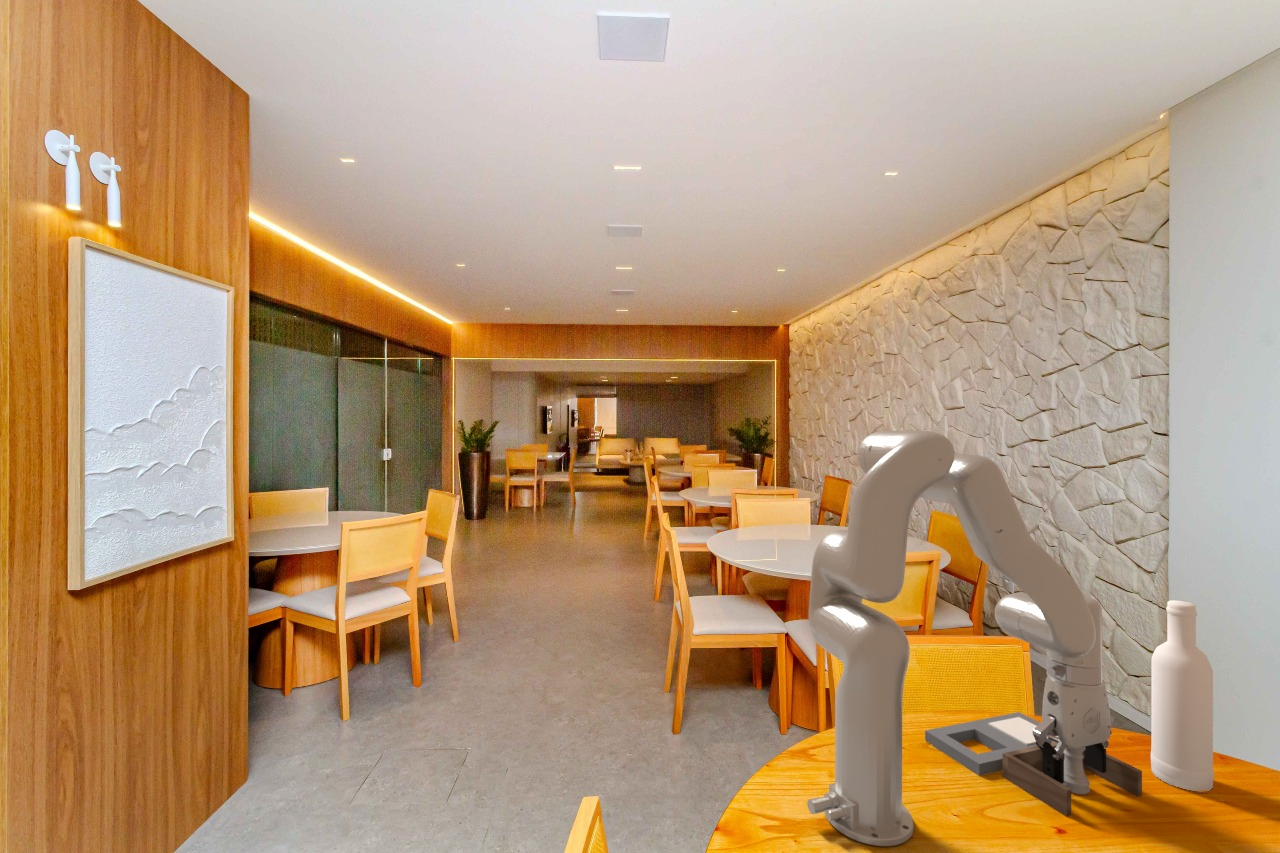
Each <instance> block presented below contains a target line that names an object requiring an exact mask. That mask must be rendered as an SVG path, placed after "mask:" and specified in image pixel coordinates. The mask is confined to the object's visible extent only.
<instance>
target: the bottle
mask: <svg viewBox="0 0 1280 853" xmlns="http://www.w3.org/2000/svg"><path fill="white" fill-rule="evenodd" d="M1165 611H1166V612H1167V613H1166V617H1167V618H1166V619H1167V620H1166V621H1167V622H1166V624H1167V626H1166V628H1167V629H1166V630H1167V631H1166V635H1167V636H1166V638H1167V639H1166V641H1165V642H1162V643H1161V644H1159V645H1158V646H1156V648H1155V650H1154V651H1153V653H1152V656H1151V664H1150V665H1151V668H1150V669H1151V670H1150V672H1151V674H1150V675H1151V687H1150V688H1151V690H1150V691H1151V697H1150V698H1151V700H1150V701H1151V702H1150V703H1151V705H1150V706H1151V718H1150V721H1151V724H1150V725H1151V727H1150V728H1151V731H1150V732H1151V733H1150V734H1151V739H1150V740H1151V748H1150V749H1151V751H1150V763H1151V764H1150V766H1151V768H1150V770H1151V772H1152V774H1153V775H1154V776H1155V777H1156V778H1157V777H1158V778H1157V779H1159V780H1160V779H1161V780H1160V781H1162V782H1163V781H1164V783H1165V782H1166V784H1167V785H1170V786H1172V785H1173V786H1172V787H1174V786H1176V787H1175V788H1177V787H1180V788H1183V789H1187V790H1186V791H1188V790H1192V791H1207V790H1211V789H1212V788H1213V789H1214V780H1215V776H1214V775H1215V773H1214V757H1213V756H1214V670H1213V668H1212V665H1211V663H1210V661H1209V659H1208V656H1207V655H1206V654H1205V653H1204V652H1203V651H1202V650H1201V649H1200V648H1199V647H1198V646H1197V645H1196V644H1197V642H1196V641H1197V625H1196V624H1197V619H1196V618H1197V616H1198V613H1197V607H1196V605H1195V604H1194V603H1193V602H1188V601H1184V600H1183V601H1182V600H1177V599H1175V600H1174V599H1172V600H1171V599H1170V600H1168V601H1167V604H1166V607H1165ZM1180 788H1179V789H1180ZM1183 789H1182V790H1183ZM1213 789H1212V790H1213ZM1212 790H1211V791H1212ZM1192 791H1191V792H1192Z"/></svg>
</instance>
